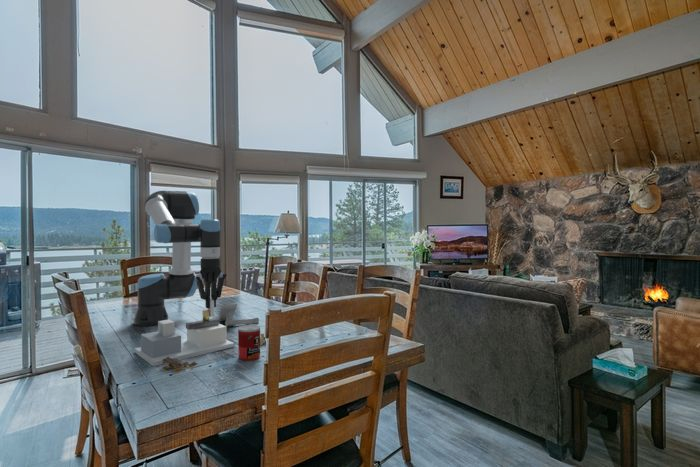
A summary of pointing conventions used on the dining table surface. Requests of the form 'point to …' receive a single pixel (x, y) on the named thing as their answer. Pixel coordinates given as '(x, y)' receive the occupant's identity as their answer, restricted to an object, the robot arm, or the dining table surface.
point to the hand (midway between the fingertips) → (210, 315)
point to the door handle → (228, 313)
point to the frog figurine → (178, 365)
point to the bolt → (203, 321)
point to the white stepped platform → (181, 342)
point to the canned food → (249, 342)
